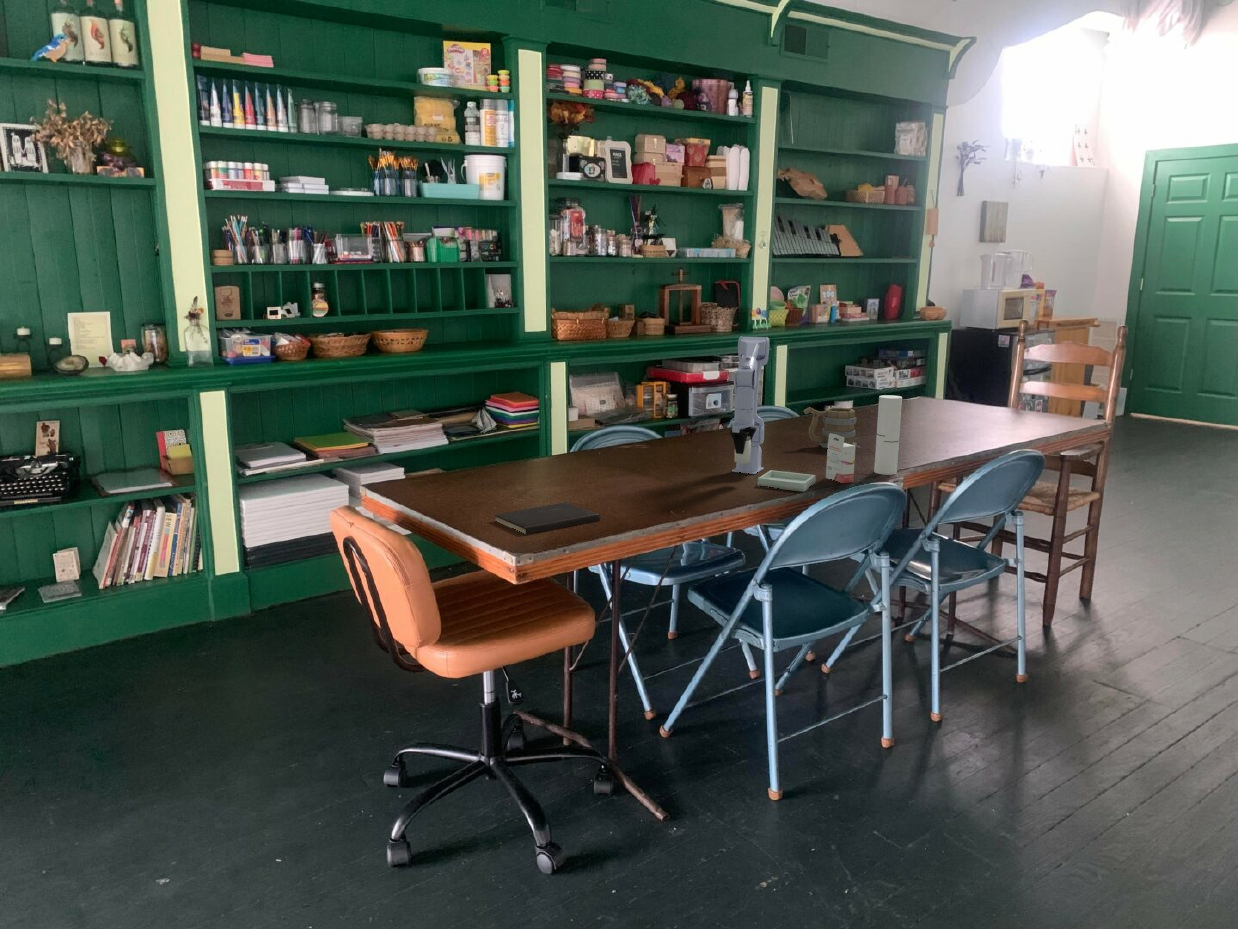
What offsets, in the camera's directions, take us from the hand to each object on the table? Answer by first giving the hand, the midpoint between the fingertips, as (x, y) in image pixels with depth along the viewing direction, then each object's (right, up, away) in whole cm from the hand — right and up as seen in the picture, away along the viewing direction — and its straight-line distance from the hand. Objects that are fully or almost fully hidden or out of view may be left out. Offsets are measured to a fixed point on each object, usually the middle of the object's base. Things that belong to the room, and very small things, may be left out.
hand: (742, 452), depth 289 cm
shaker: (0, -3, +1) cm, 3 cm away
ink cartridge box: (+32, -9, +7) cm, 34 cm away
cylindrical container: (+49, -7, +19) cm, 53 cm away
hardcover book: (-57, -20, -41) cm, 73 cm away
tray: (+14, -10, +1) cm, 17 cm away
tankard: (+40, +3, +60) cm, 72 cm away
